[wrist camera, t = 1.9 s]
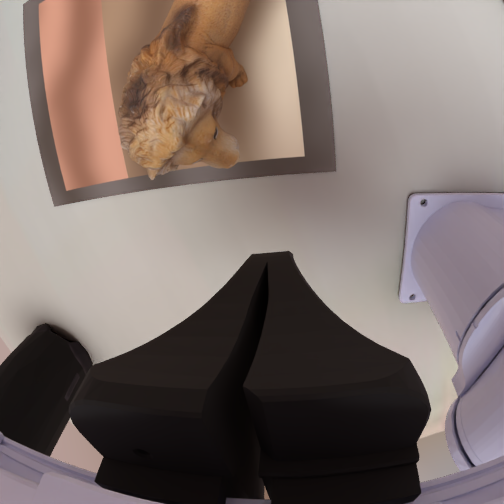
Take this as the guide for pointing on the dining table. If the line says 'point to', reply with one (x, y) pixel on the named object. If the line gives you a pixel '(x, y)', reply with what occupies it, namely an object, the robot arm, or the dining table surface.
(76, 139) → the board
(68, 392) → the portable speaker
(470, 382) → the robot arm
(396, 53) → the dining table surface
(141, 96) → the lion figurine
